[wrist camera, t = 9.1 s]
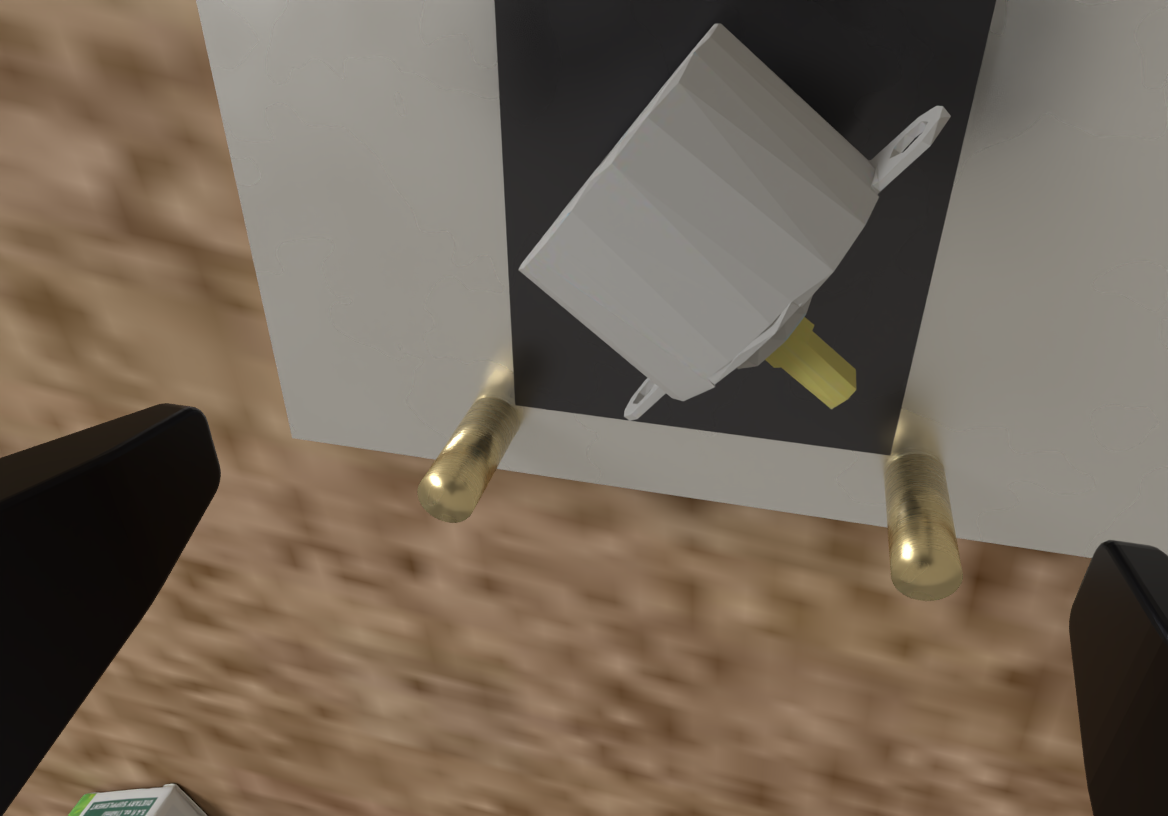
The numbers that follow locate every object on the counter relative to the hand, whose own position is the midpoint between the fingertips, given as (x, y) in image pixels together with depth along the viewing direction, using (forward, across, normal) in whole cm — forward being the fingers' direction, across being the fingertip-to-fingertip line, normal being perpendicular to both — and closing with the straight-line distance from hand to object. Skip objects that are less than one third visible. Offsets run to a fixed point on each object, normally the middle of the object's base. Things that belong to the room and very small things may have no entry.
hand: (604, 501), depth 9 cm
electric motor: (+9, -1, 0) cm, 9 cm away
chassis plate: (+10, 0, 0) cm, 10 cm away
